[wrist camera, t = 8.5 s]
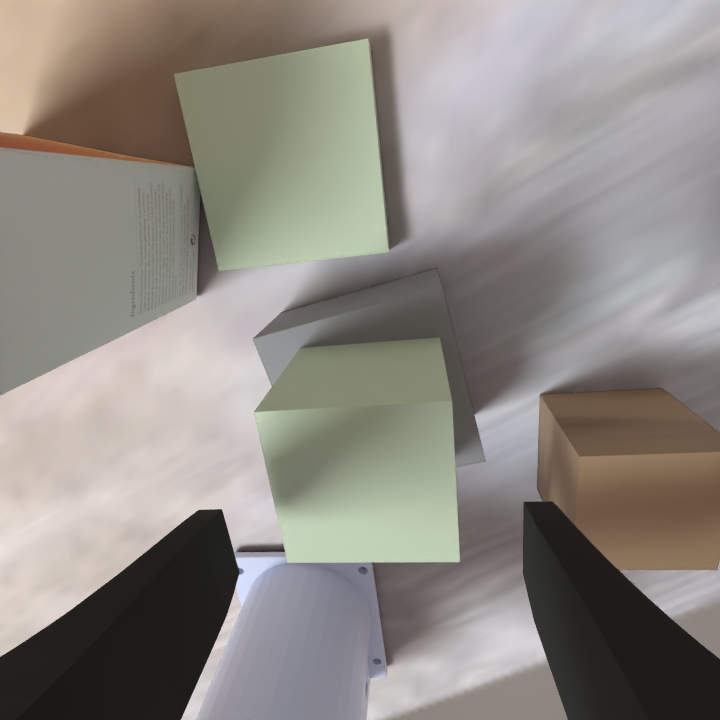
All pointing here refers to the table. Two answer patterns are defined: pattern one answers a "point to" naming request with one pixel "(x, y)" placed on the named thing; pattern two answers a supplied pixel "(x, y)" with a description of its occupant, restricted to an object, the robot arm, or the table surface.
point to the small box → (87, 250)
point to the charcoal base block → (379, 338)
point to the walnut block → (633, 476)
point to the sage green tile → (288, 156)
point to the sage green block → (363, 454)
